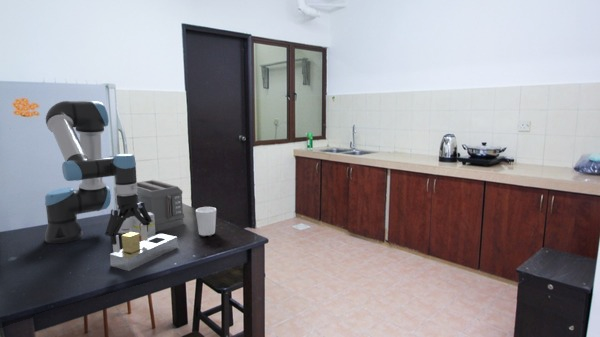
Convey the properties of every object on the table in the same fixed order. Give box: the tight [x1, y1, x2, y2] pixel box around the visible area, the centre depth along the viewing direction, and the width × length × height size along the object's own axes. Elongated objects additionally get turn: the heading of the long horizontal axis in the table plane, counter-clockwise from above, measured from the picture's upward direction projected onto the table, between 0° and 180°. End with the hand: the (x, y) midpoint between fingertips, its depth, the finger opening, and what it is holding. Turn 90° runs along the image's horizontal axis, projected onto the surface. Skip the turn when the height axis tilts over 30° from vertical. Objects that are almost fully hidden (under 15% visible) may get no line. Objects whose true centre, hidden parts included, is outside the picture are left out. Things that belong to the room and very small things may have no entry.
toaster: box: [137, 179, 185, 232], centre depth 199 cm, size 19×34×20 cm, turn 49°
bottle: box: [113, 184, 134, 234], centre depth 184 cm, size 8×8×28 cm
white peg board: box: [109, 233, 179, 272], centre depth 155 cm, size 10×26×5 cm, turn 155°
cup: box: [195, 206, 217, 238], centre depth 180 cm, size 10×10×13 cm
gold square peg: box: [121, 231, 141, 255], centre depth 148 cm, size 4×4×12 cm
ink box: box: [133, 212, 157, 242], centre depth 175 cm, size 9×5×12 cm, turn 136°
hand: (131, 245), depth 148 cm, fingers open, 13 cm apart
